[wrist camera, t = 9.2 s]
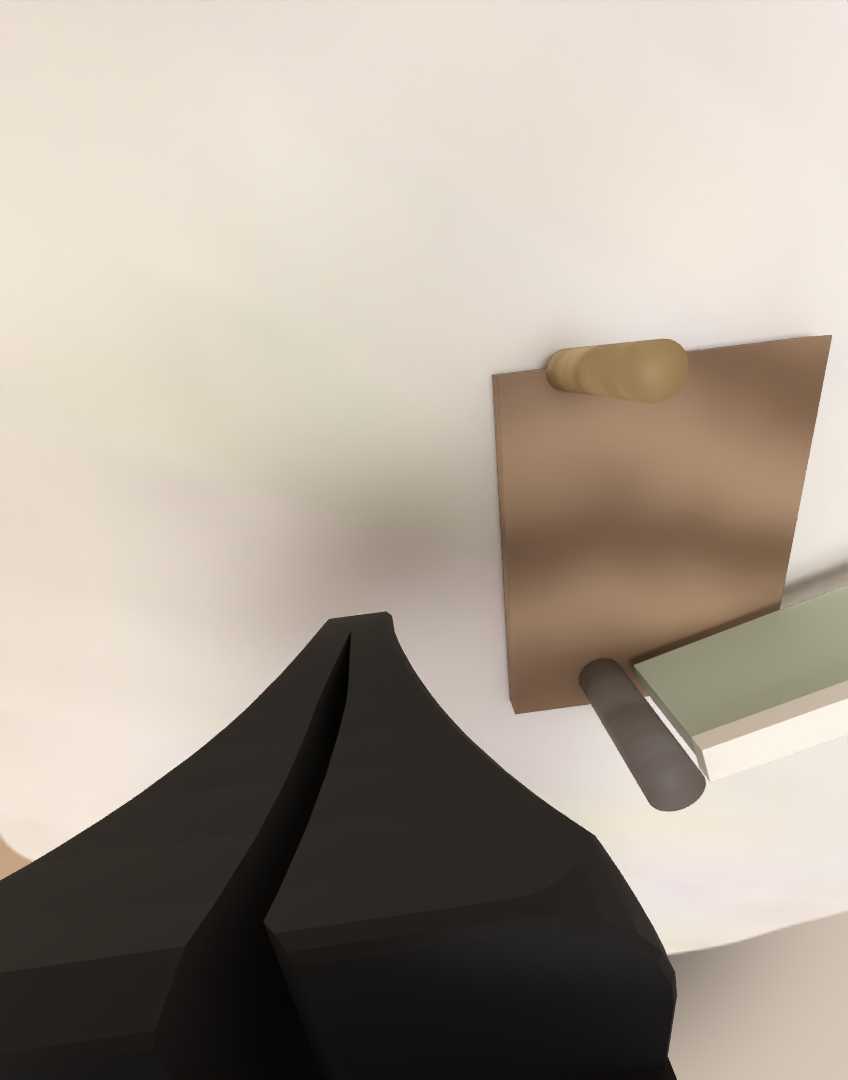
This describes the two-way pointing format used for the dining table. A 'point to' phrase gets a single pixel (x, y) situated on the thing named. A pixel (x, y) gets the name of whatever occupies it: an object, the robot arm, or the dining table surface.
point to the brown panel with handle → (646, 520)
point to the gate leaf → (758, 686)
